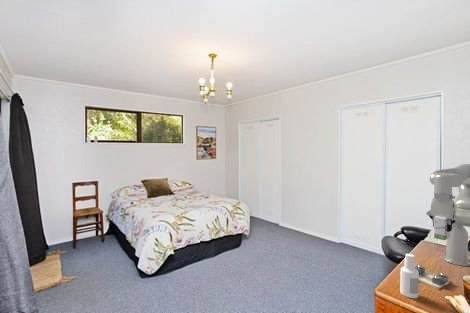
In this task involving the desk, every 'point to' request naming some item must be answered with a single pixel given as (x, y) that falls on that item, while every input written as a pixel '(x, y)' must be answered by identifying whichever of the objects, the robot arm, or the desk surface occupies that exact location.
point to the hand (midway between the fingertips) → (442, 229)
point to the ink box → (441, 228)
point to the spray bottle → (409, 278)
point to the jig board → (430, 280)
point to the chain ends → (437, 279)
